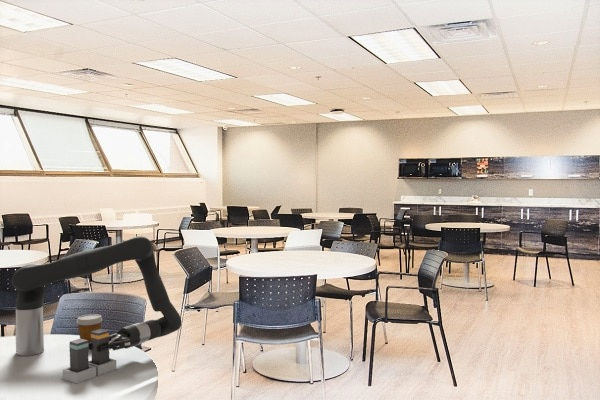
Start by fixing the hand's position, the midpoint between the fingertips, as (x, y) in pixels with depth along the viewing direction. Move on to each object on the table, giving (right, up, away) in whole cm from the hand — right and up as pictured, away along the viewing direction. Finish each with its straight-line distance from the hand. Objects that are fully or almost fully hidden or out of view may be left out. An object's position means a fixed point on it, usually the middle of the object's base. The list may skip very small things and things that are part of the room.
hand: (93, 347), depth 177 cm
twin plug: (-3, -8, -4) cm, 10 cm away
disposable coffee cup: (-13, -9, +31) cm, 35 cm away
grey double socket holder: (-1, -10, -1) cm, 10 cm away
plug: (+1, -7, +3) cm, 8 cm away
